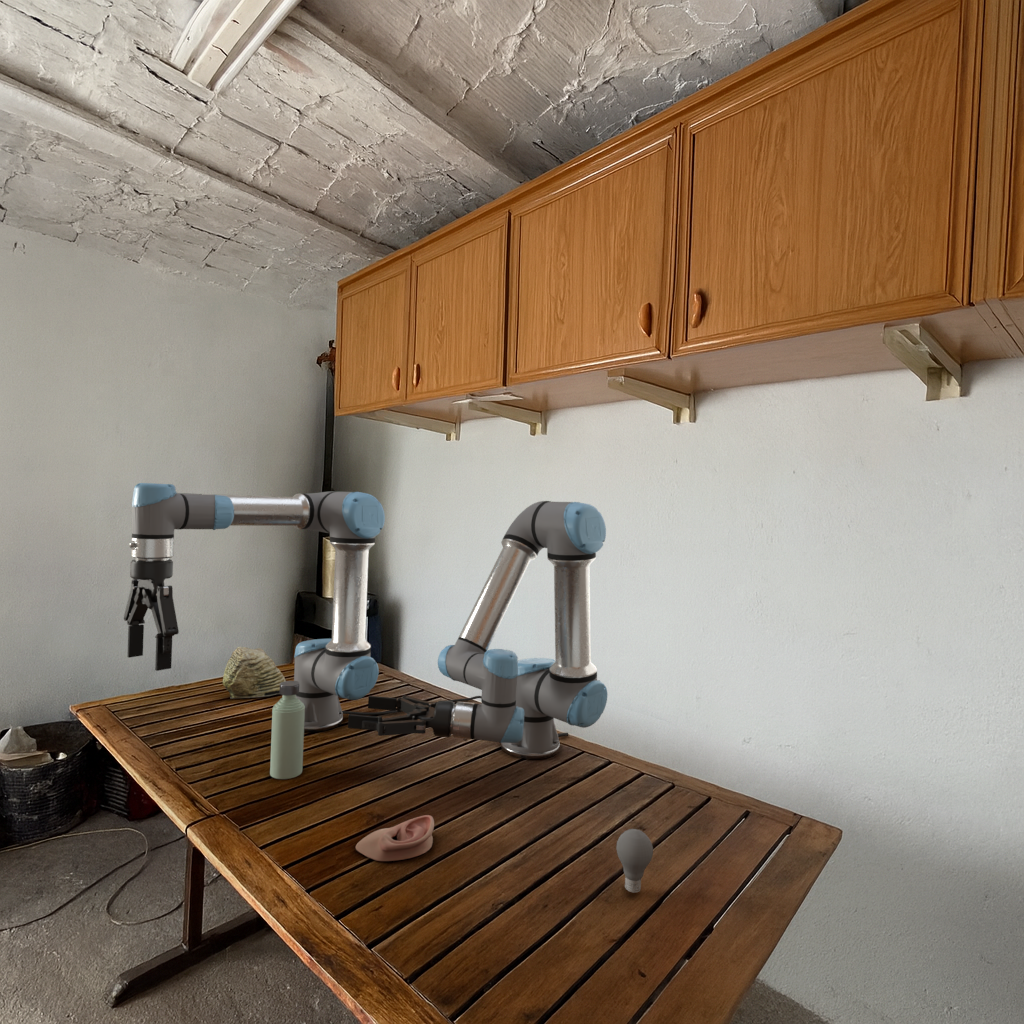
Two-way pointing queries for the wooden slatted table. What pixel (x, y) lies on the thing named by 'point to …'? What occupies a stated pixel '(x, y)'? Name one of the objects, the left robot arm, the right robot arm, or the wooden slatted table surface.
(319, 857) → the wooden slatted table surface
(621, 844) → the light bulb
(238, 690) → the fossil
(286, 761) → the bottle
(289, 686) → the cap
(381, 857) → the anatomical model
